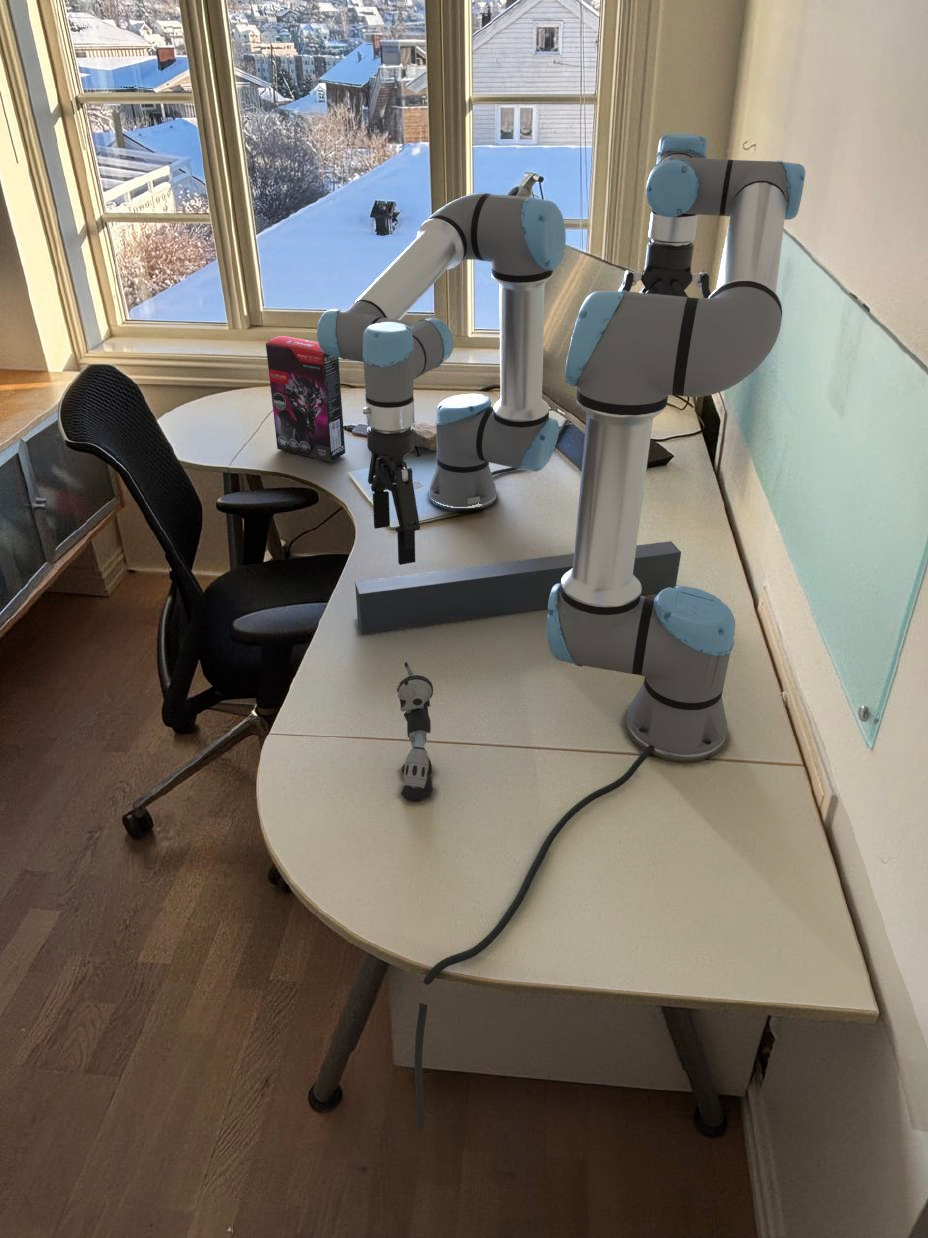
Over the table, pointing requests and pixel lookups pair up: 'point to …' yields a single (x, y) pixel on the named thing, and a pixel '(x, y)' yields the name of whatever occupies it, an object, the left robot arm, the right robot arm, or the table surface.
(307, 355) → the graphics card box
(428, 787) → the robot
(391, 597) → the post
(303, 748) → the table surface
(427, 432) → the stone
